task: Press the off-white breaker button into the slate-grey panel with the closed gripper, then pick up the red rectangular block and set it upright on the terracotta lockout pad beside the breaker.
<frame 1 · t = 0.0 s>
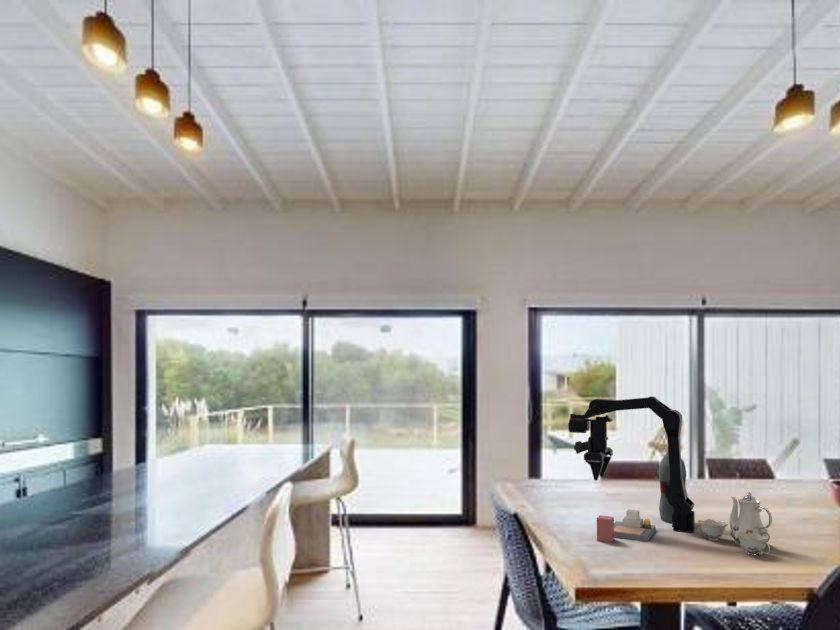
hand: (598, 478, 245), 15 cm above the table, fingers open, 9 cm apart
red rectangular block: (605, 540, 217), on the table
chinaware: (741, 546, 212), on the table
bottle: (673, 521, 245), on the table
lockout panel: (631, 532, 226), on the table
breaker: (632, 515, 230), point 5 cm above the table, slide at 0.0 cm
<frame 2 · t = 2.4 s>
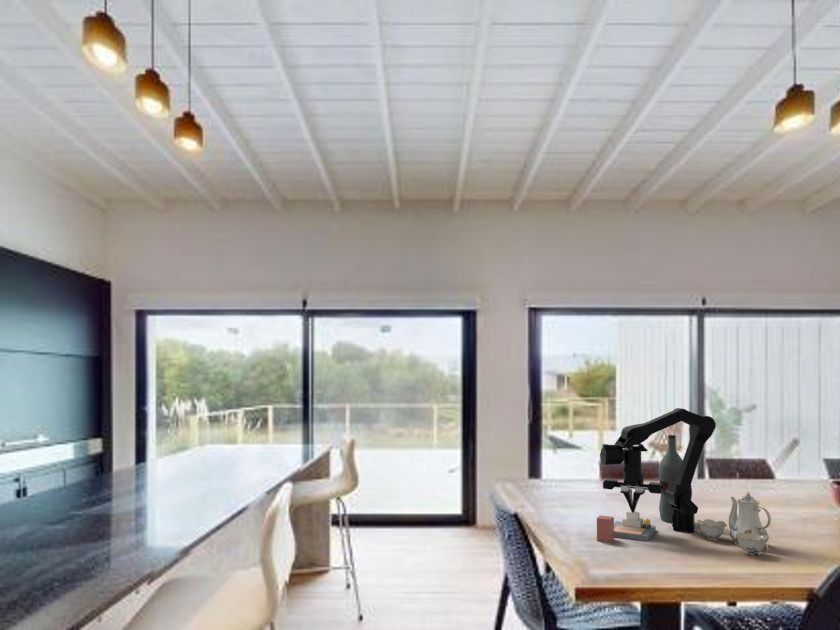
hand: (633, 512, 230), 6 cm above the table, fingers closed, pressing on breaker
breaker: (632, 516, 230), point 5 cm above the table, slide at 0.4 cm, touching gripper
everything else where it was.
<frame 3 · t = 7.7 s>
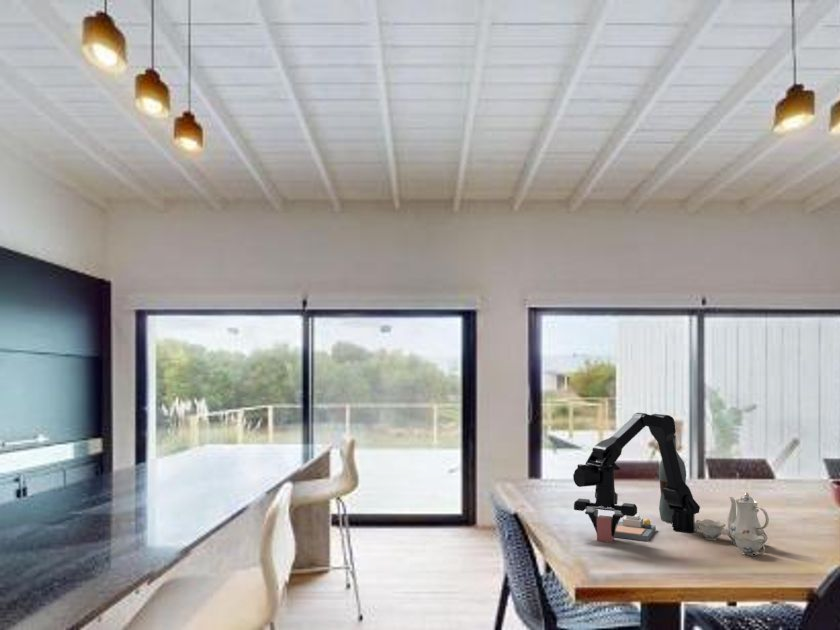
hand: (605, 534, 218), 2 cm above the table, fingers closed on red rectangular block, 4 cm apart
red rectangular block: (605, 539, 217), on the table, touching gripper
breaker: (633, 519, 230), point 4 cm above the table, slide at 1.4 cm
when the fingers open (5 cm above the table, at t = 11.7 s): red rectangular block drops 1 cm, resting on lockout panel.
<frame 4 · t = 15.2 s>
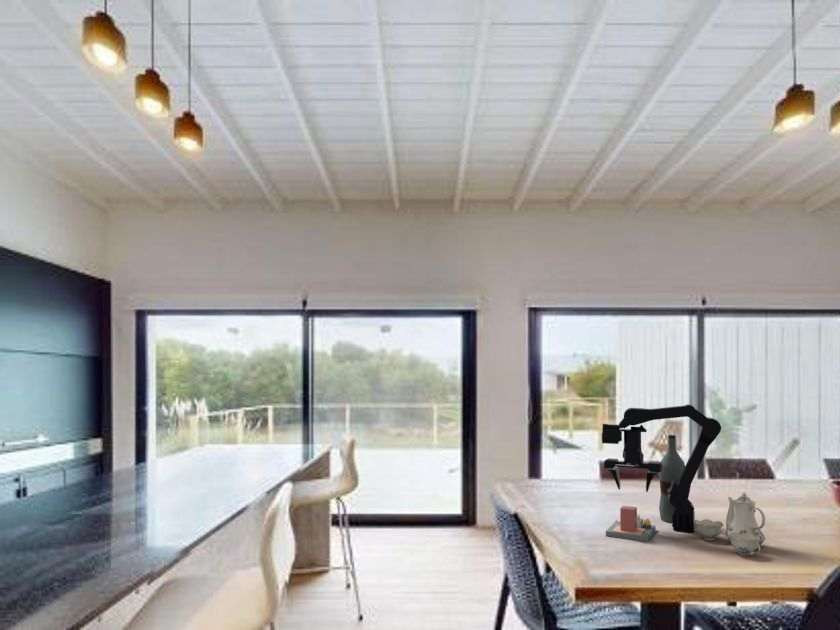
hand: (633, 490, 237), 12 cm above the table, fingers open, 9 cm apart
red rectangular block: (628, 529, 223), point 2 cm above the table, touching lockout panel
at the end: breaker slide at 1.4 cm; red rectangular block inside the target area on the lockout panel (0.8 cm from its centre), point 1.9 cm above the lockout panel's base; red rectangular block tilted 0° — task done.
